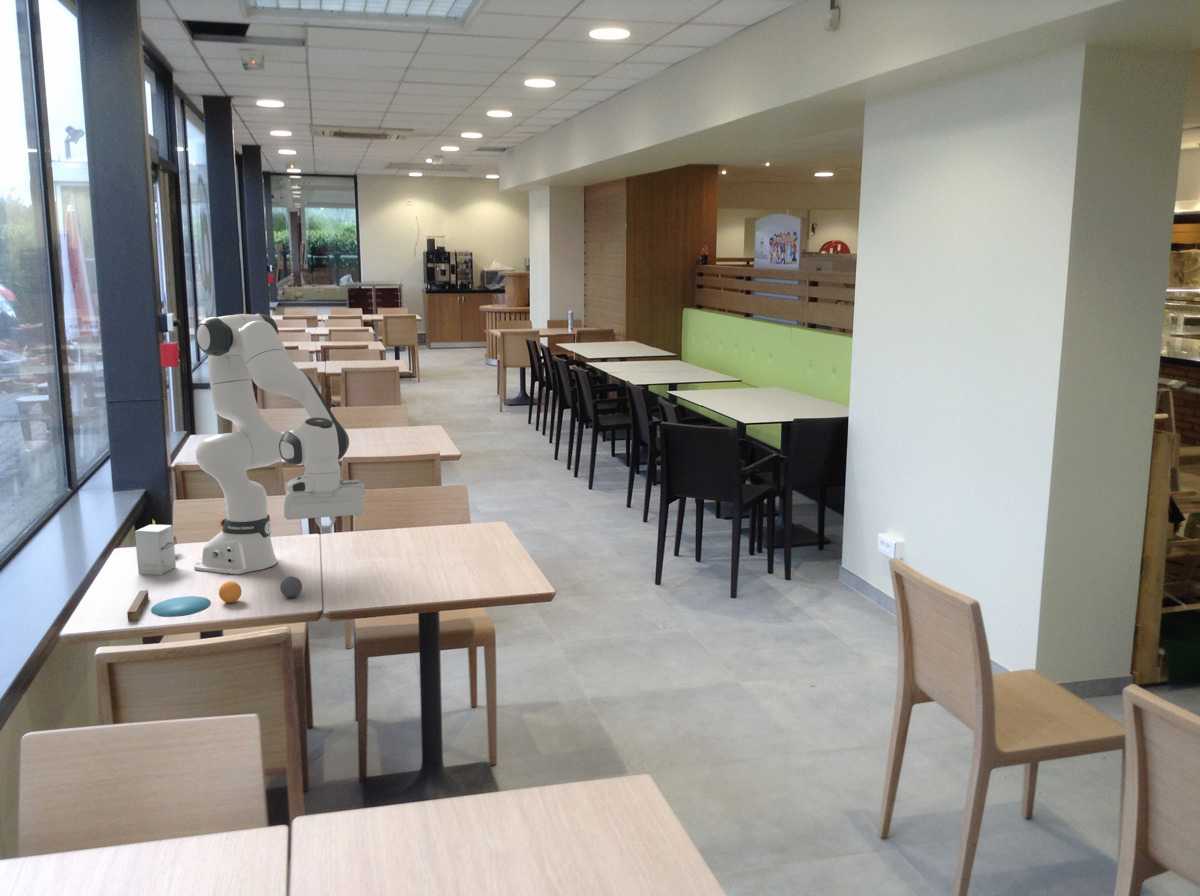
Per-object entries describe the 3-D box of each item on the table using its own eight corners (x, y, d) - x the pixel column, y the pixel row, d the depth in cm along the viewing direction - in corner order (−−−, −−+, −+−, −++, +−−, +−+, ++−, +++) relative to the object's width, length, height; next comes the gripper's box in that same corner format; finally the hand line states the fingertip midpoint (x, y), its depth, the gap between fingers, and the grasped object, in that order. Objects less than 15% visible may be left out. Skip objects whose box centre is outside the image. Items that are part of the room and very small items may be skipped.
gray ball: (277, 600, 257) (275, 580, 256) (286, 593, 262) (284, 573, 261) (297, 601, 256) (296, 580, 255) (306, 593, 262) (304, 573, 261)
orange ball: (215, 605, 253) (214, 585, 252) (226, 598, 259) (224, 578, 258) (236, 606, 253) (234, 585, 252) (246, 598, 258) (244, 578, 257)
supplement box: (162, 575, 277) (157, 531, 275) (137, 574, 278) (133, 530, 276) (177, 567, 284) (173, 524, 282) (153, 566, 285) (149, 523, 283)
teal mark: (139, 615, 247) (139, 614, 247) (169, 596, 260) (169, 595, 260) (193, 617, 245) (193, 616, 245) (220, 598, 259) (220, 597, 259)
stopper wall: (128, 621, 242) (127, 612, 242) (140, 599, 258) (139, 590, 257) (137, 620, 243) (136, 611, 242) (148, 599, 258) (147, 590, 258)
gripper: (364, 476, 261) (366, 526, 264) (282, 481, 256) (286, 532, 259) (364, 481, 255) (367, 533, 258) (281, 486, 250) (285, 539, 253)
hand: (326, 533), depth 258 cm, fingers closed
